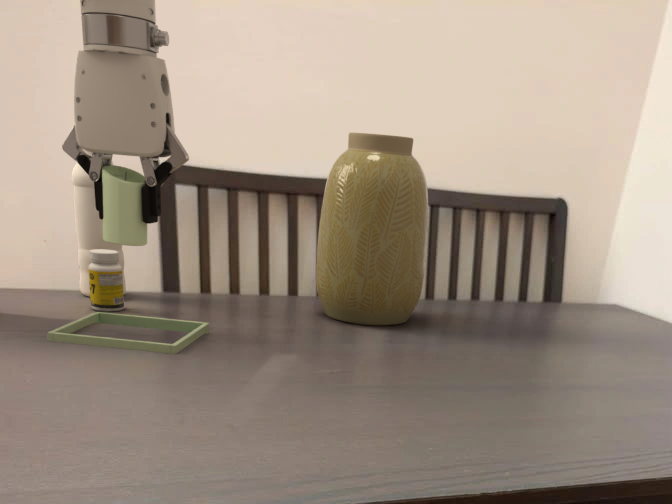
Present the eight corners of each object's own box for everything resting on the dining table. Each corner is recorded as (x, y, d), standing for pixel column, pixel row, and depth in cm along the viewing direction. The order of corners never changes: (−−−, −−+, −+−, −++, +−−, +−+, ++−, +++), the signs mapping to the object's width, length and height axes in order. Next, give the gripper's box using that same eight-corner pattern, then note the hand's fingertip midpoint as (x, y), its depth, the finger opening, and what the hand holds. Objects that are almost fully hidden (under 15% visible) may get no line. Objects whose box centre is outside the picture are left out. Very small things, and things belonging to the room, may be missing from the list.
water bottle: (81, 290, 121) (68, 123, 111) (125, 291, 123) (117, 127, 113) (79, 298, 115) (66, 122, 105) (126, 299, 117) (117, 127, 107)
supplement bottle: (90, 305, 111) (86, 248, 107) (123, 305, 112) (119, 249, 109) (91, 312, 107) (87, 252, 103) (125, 312, 108) (122, 253, 105)
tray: (49, 353, 85) (46, 332, 84) (97, 330, 97) (96, 311, 96) (176, 367, 84) (175, 345, 83) (209, 341, 96) (209, 322, 95)
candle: (155, 246, 86) (156, 172, 83) (116, 245, 83) (115, 168, 80) (133, 239, 89) (133, 167, 86) (94, 238, 86) (93, 163, 83)
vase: (294, 316, 115) (301, 127, 104) (343, 302, 129) (355, 135, 118) (393, 334, 109) (412, 135, 98) (434, 317, 123) (454, 142, 112)
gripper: (207, 51, 81) (209, 224, 88) (60, 40, 82) (73, 212, 89) (186, 40, 74) (189, 229, 81) (25, 28, 75) (43, 216, 82)
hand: (129, 218), depth 85 cm, fingers closed on candle, 4 cm apart
